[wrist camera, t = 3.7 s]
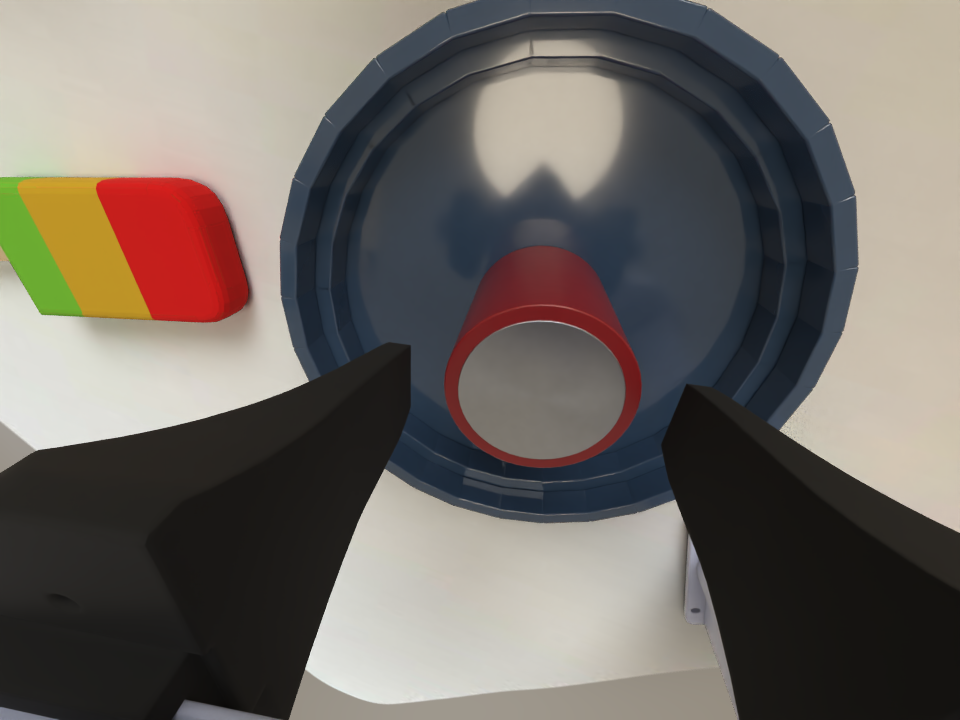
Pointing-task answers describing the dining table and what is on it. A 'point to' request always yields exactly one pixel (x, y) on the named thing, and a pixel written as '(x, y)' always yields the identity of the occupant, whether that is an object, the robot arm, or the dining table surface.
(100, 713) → the robot arm
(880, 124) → the dining table surface
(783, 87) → the dark blue round plate
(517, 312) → the can
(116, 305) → the popsicle
